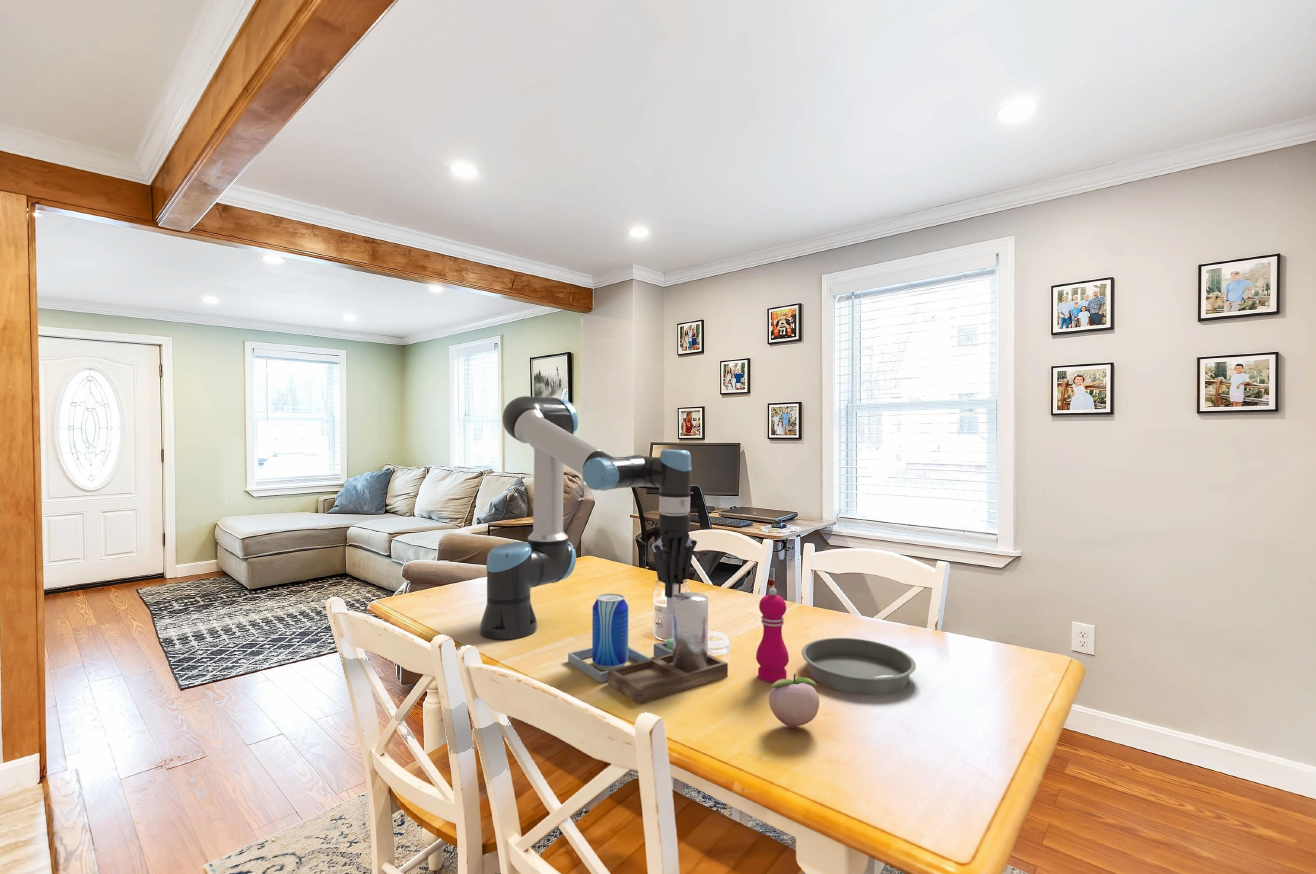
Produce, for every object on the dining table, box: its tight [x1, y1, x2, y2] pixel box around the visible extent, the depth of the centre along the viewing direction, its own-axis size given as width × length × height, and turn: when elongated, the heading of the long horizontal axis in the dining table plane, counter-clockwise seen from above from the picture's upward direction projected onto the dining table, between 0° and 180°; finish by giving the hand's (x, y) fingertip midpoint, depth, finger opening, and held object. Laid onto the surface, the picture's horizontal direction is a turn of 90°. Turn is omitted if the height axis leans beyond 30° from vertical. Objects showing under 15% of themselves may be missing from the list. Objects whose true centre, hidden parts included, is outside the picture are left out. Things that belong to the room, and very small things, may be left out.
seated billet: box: [672, 591, 709, 673], centre depth 137 cm, size 8×8×16 cm
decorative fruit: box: [768, 673, 820, 729], centre depth 112 cm, size 9×8×10 cm
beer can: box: [591, 593, 629, 671], centre depth 142 cm, size 8×8×16 cm
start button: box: [665, 637, 673, 650], centre depth 147 cm, size 4×4×4 cm
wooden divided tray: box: [607, 653, 729, 705], centre depth 133 cm, size 12×24×3 cm, turn 126°
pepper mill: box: [755, 587, 790, 684], centre depth 135 cm, size 7×7×20 cm
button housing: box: [653, 640, 673, 658], centre depth 147 cm, size 7×7×3 cm
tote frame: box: [567, 646, 652, 684], centre depth 142 cm, size 15×14×2 cm
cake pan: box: [801, 637, 917, 695], centre depth 137 cm, size 25×25×4 cm
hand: (672, 609), depth 147 cm, fingers closed
